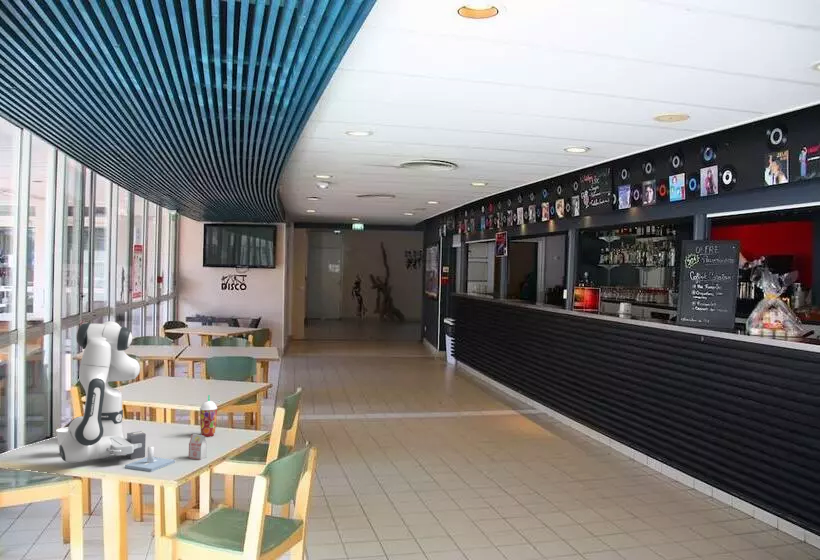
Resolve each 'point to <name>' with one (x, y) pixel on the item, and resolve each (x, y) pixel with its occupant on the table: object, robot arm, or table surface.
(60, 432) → the cup
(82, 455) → the robot arm
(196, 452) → the white paper bag
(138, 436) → the tall gray block
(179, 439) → the table surface
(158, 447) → the table surface
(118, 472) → the table surface
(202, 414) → the smoothie
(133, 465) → the panel
